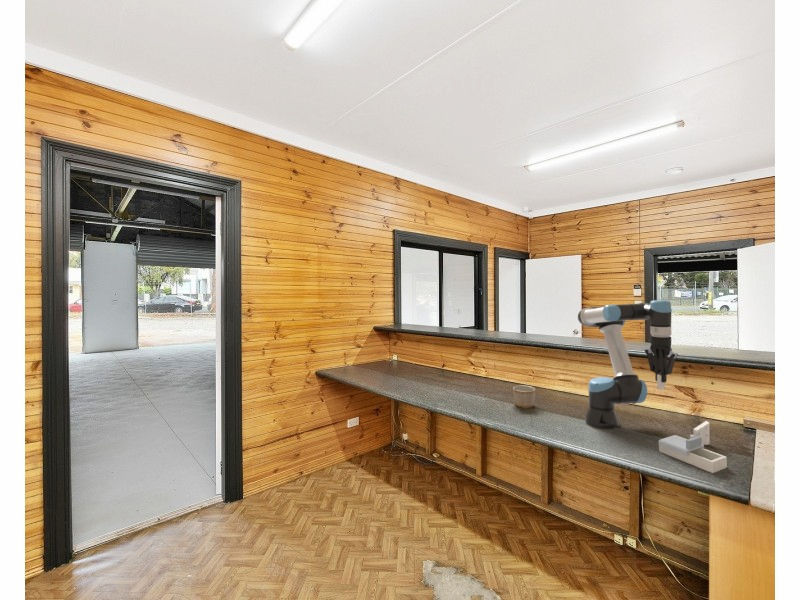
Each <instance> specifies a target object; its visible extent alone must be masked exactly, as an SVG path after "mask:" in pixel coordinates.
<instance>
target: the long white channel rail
mask: <svg viewBox="0 0 800 600" xmlns="http://www.w3.org/2000/svg"><path fill="white" fill-rule="evenodd" d="M658 451H659V452H660V453H662V454H665V455H666V456H670V457H672V458H673V459H677V460H679V461H682V462H684V463H687V464H689V465H692V466H695V467H696V468H699V469H702V470H703V471H706V472H709V473H711V474H714V473H717V472H719V471H722V470H725V469H726V468H727V467H728V465H727V460H728V459H727V456H725V455H723V454H720V453H717V452H714V451H711V450H709V449H706V448H705V447H704V448H699V449H696V450H693V451H690V452H687V456H685V455H683V454H680V453H677V452H675V451H672V450H670V449H667V448H665V447H662V446H660V445H659V444H658Z"/></svg>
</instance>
